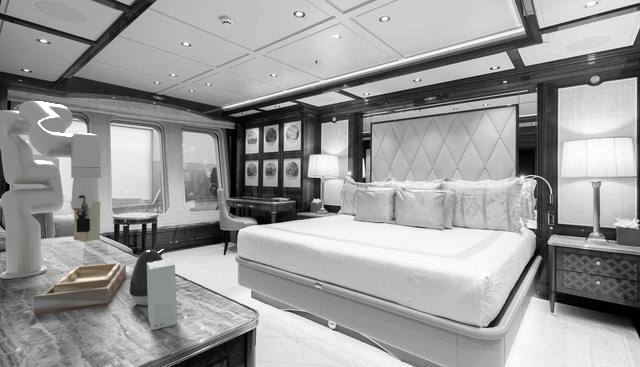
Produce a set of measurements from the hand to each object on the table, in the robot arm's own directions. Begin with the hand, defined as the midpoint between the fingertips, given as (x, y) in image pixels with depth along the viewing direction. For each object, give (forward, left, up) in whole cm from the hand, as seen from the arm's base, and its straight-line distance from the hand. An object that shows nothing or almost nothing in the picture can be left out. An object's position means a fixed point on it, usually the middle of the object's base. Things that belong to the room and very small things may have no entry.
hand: (87, 229), depth 98 cm
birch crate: (-3, 0, -19) cm, 19 cm away
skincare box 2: (+31, +23, -20) cm, 44 cm away
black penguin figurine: (+16, +19, -20) cm, 32 cm away
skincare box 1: (0, 0, -3) cm, 3 cm away
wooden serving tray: (0, 0, -20) cm, 20 cm away
